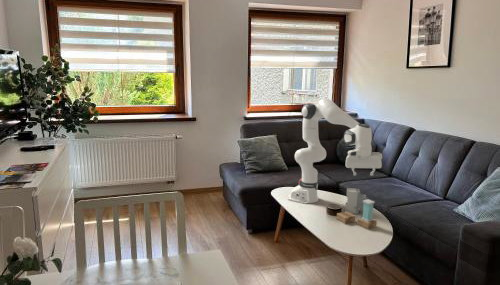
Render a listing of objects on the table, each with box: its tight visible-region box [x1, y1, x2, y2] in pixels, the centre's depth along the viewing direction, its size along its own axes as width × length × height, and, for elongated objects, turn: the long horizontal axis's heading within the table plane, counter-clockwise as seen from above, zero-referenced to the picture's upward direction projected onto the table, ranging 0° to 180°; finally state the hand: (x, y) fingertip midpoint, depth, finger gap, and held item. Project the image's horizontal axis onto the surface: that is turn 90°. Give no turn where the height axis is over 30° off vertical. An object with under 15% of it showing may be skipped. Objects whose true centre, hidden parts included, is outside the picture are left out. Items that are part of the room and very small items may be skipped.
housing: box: [360, 198, 376, 222], centre depth 224 cm, size 5×5×12 cm
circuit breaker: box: [345, 187, 368, 215], centre depth 247 cm, size 8×14×15 cm, turn 78°
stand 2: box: [356, 217, 378, 230], centre depth 226 cm, size 8×8×4 cm
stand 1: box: [336, 211, 356, 225], centre depth 233 cm, size 8×8×4 cm
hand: (363, 175), depth 215 cm, fingers open, 8 cm apart
